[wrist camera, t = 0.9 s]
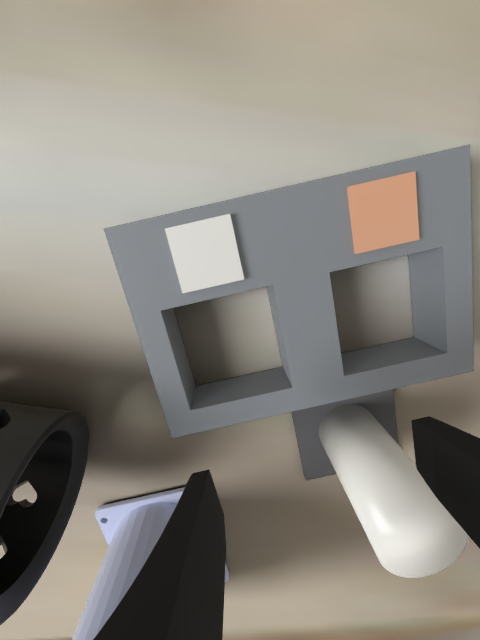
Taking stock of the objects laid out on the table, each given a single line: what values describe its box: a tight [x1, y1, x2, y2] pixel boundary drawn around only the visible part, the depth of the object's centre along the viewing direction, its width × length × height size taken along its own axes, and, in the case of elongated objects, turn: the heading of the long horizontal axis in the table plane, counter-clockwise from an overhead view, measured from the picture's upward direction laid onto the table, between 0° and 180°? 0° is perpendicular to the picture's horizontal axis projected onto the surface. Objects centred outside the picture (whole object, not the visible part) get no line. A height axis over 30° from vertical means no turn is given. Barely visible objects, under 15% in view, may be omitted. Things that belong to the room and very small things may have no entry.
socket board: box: [104, 145, 474, 438], centre depth 17 cm, size 12×18×3 cm, turn 102°
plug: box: [319, 404, 468, 578], centre depth 16 cm, size 4×4×8 cm
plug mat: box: [292, 389, 398, 480], centre depth 20 cm, size 7×7×1 cm
